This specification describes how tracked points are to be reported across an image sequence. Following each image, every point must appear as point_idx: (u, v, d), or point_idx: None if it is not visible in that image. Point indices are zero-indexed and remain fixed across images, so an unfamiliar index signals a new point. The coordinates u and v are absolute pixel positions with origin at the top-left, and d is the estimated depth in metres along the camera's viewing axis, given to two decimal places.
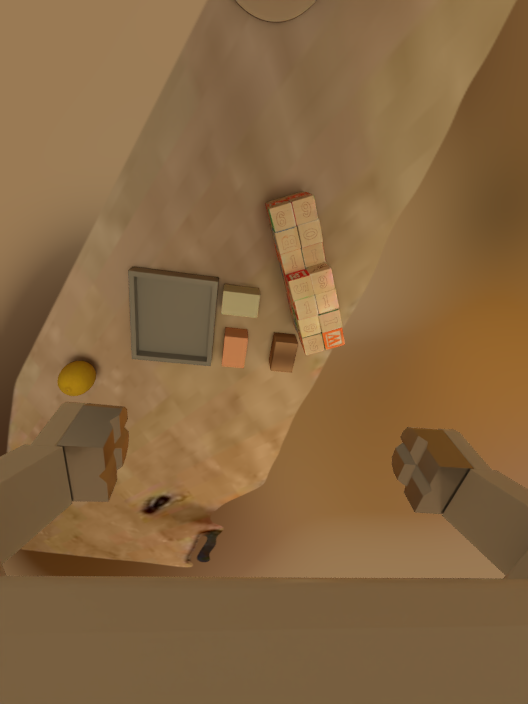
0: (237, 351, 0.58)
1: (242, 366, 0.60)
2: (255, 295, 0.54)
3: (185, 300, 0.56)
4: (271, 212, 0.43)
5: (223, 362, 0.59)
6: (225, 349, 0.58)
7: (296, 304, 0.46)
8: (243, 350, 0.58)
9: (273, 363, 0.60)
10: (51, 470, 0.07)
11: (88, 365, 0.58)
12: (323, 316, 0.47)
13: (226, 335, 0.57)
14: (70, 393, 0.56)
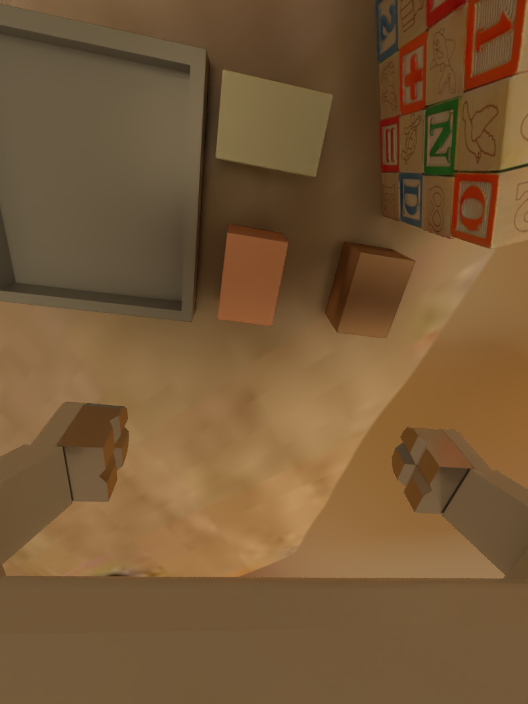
0: (258, 280, 0.23)
1: (268, 321, 0.24)
2: (318, 94, 0.18)
3: (119, 134, 0.21)
4: None
5: (221, 309, 0.23)
6: (227, 272, 0.22)
7: None
8: (274, 277, 0.23)
9: (346, 314, 0.24)
10: (51, 470, 0.07)
11: None
12: None
13: (231, 232, 0.21)
14: None
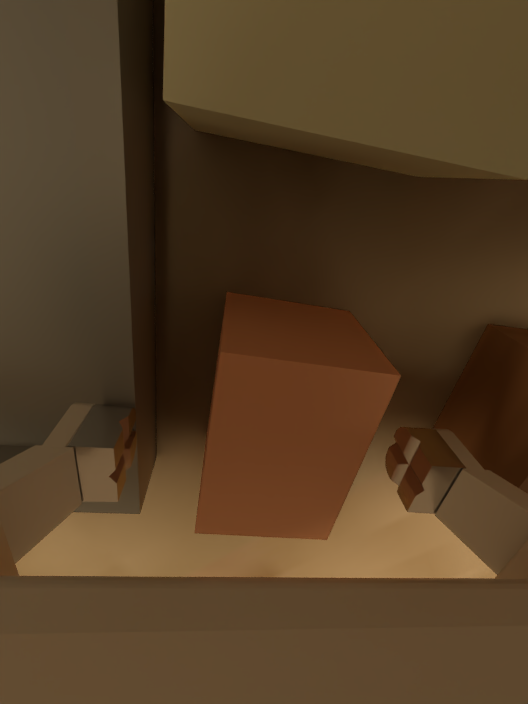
0: (303, 458, 0.08)
1: (320, 533, 0.10)
2: None
3: None
4: None
5: (205, 516, 0.09)
6: (221, 446, 0.08)
7: None
8: (346, 453, 0.08)
9: None
10: (62, 470, 0.07)
11: None
12: None
13: (233, 345, 0.07)
14: None
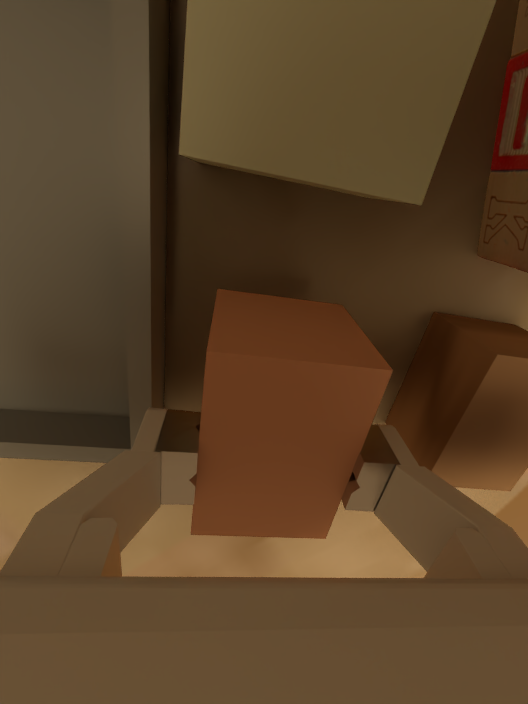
0: (296, 457, 0.08)
1: (319, 532, 0.10)
2: None
3: None
4: None
5: (200, 517, 0.09)
6: (212, 446, 0.08)
7: None
8: (341, 451, 0.08)
9: (445, 456, 0.13)
10: (151, 475, 0.07)
11: None
12: None
13: (220, 344, 0.07)
14: None
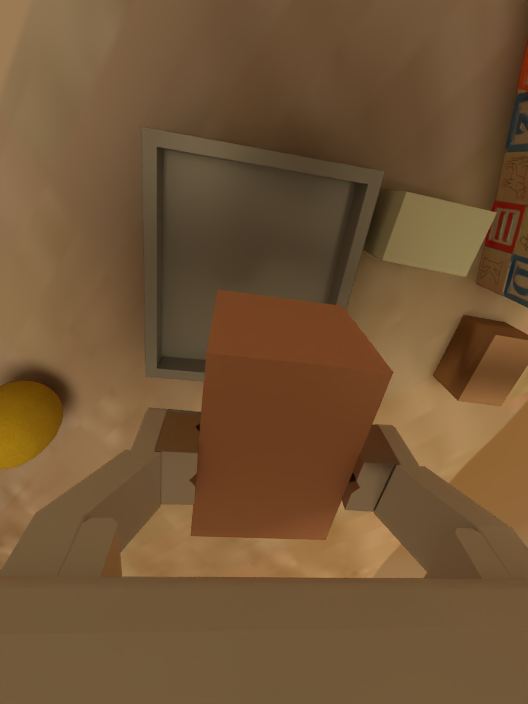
0: (297, 459, 0.08)
1: (319, 533, 0.10)
2: (484, 212, 0.20)
3: (281, 233, 0.23)
4: None
5: (200, 519, 0.09)
6: (212, 448, 0.08)
7: None
8: (340, 452, 0.08)
9: (469, 385, 0.26)
10: (151, 475, 0.07)
11: (43, 392, 0.25)
12: None
13: (220, 345, 0.07)
14: None
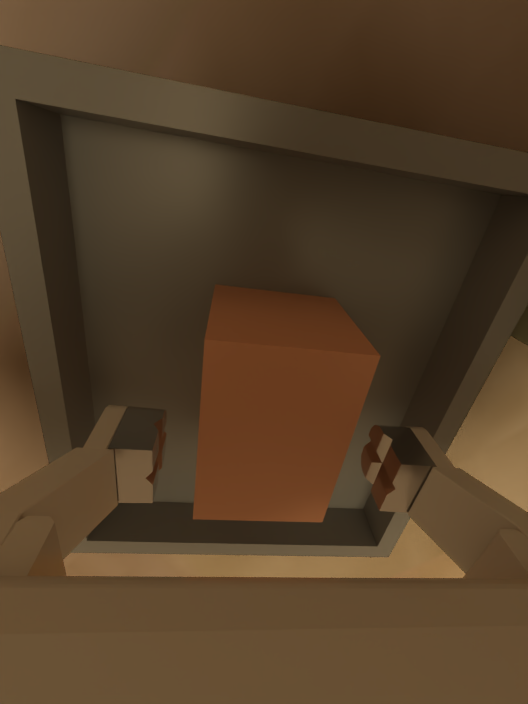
0: (292, 441, 0.09)
1: (315, 515, 0.10)
2: None
3: (329, 296, 0.11)
4: None
5: (202, 502, 0.09)
6: (212, 431, 0.08)
7: None
8: (334, 435, 0.09)
9: None
10: (103, 472, 0.07)
11: None
12: None
13: (217, 333, 0.07)
14: None
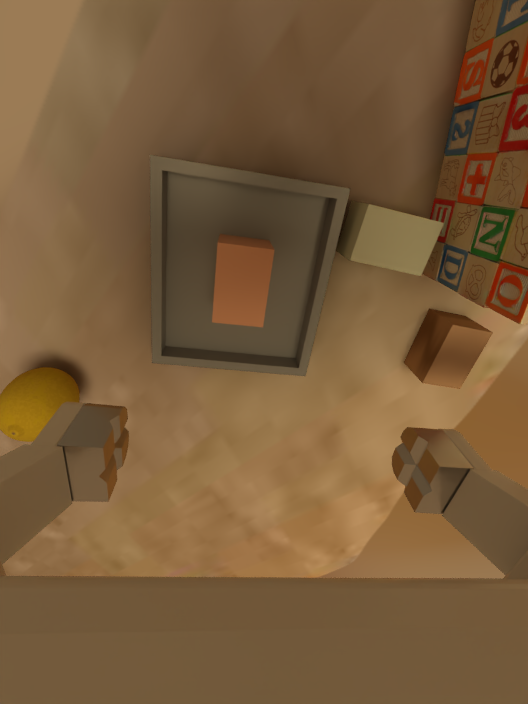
0: (248, 285, 0.24)
1: (260, 323, 0.26)
2: (433, 222, 0.24)
3: (267, 239, 0.27)
4: None
5: (215, 313, 0.25)
6: (219, 279, 0.24)
7: None
8: (262, 282, 0.24)
9: (432, 369, 0.30)
10: (51, 470, 0.07)
11: (63, 376, 0.29)
12: None
13: (221, 242, 0.23)
14: (21, 438, 0.26)
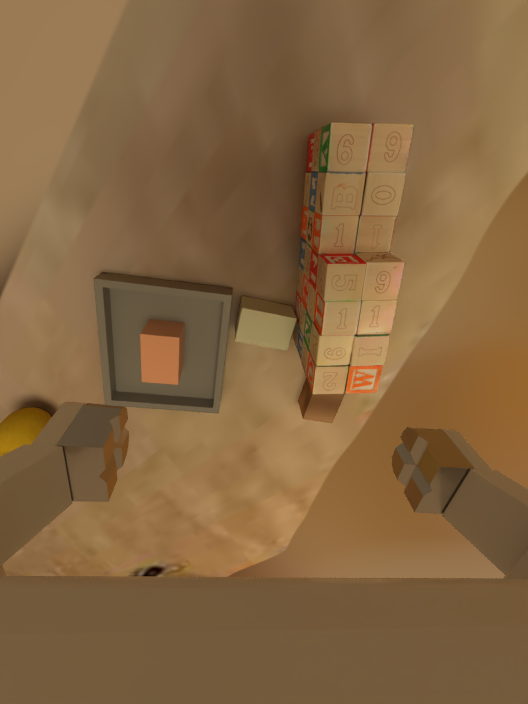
0: (164, 358, 0.36)
1: (175, 382, 0.37)
2: (289, 318, 0.35)
3: None
4: (333, 130, 0.23)
5: (143, 376, 0.37)
6: (144, 355, 0.35)
7: (327, 308, 0.26)
8: (174, 357, 0.36)
9: (308, 409, 0.42)
10: (51, 470, 0.07)
11: (41, 414, 0.40)
12: (363, 340, 0.28)
13: (143, 332, 0.35)
14: None
